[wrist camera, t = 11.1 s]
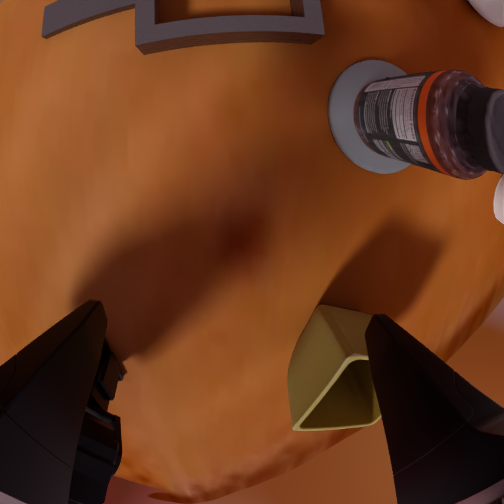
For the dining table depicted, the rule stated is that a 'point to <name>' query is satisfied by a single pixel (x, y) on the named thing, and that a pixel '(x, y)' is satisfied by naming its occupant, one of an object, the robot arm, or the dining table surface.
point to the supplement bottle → (434, 122)
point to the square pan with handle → (190, 24)
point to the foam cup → (499, 200)
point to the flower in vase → (490, 10)
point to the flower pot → (332, 373)
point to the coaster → (343, 117)
